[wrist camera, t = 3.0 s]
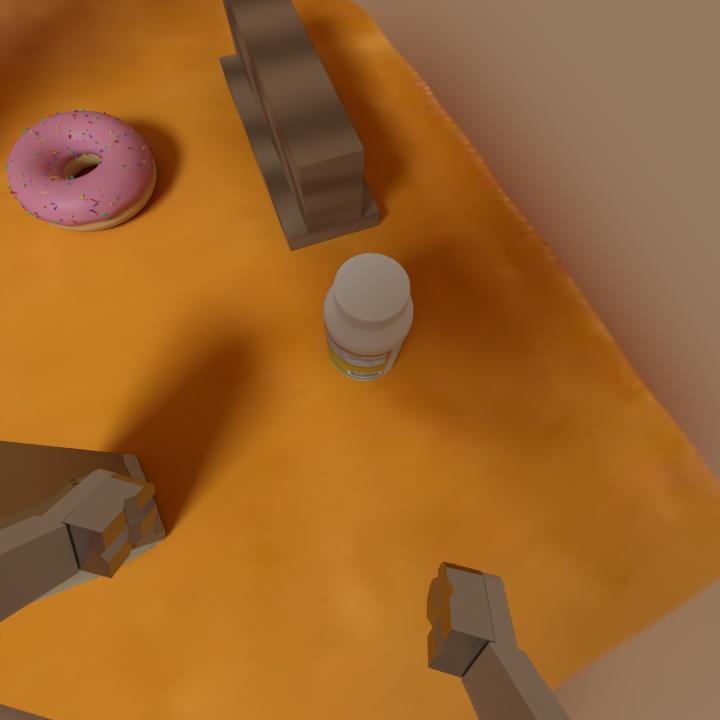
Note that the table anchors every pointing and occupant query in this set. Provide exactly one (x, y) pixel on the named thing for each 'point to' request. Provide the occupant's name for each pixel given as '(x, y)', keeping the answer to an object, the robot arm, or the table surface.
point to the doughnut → (70, 156)
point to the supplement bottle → (367, 315)
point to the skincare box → (60, 488)
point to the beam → (296, 125)
